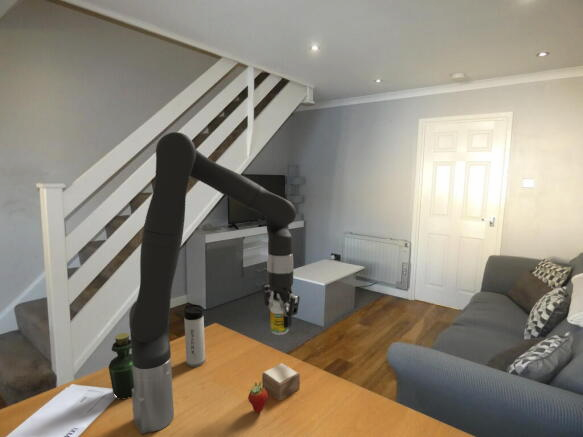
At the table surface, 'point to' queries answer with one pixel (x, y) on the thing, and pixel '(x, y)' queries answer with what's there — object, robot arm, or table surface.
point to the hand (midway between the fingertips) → (280, 323)
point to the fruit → (258, 397)
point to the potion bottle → (122, 367)
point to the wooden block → (281, 381)
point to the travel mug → (194, 335)
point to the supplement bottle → (277, 319)
